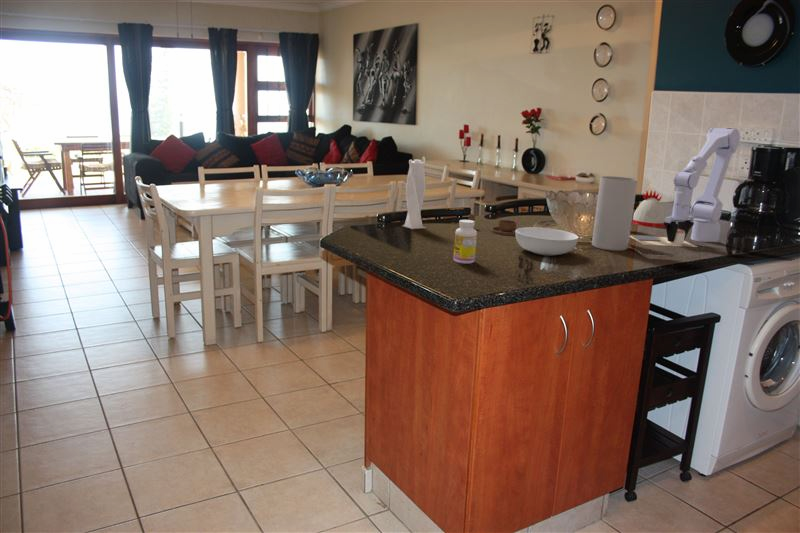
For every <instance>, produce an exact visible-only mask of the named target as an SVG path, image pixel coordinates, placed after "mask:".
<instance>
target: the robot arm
mask: <svg viewBox="0 0 800 533" xmlns="http://www.w3.org/2000/svg"><path fill="white" fill-rule="evenodd" d="M705 140H706V142H705V144H704V145H703V146H702V148H701V149H700V151H699V153H698V155H696V156H695V155H694V156H693V157H692V158H691V159H690V161H689V162H688V163H687V165H686V166H685V167H684V169H683V170H682V171H679V172H677V173H676V174H675V176H674V178H673V184H674V192H675V195H674V200H673V205H672V212H671V215H669V216H665V221H664V225H665V226H664V227H665V230H666V237H667V239H668V241H670V242H674V240H675V236H676V232H677V230H678V229H681V230H685V238H684V241H686V238H687V235H688V234H689V232H690V230H691V235H690V240H692V241H697V242H701V243H719V240H720V236H721V228H722V227H721V224H720V223H719V220H720V218H721V216H722V212H723V211H722V209H723V202H722V201H721V199H719V195H720V194H719V193H720V192H721V188H722V186H723V183H724V180H725V176H726V173H727V170H728V168H729V164H730V162H731V159H732V156H733V154H735V153H736V152H737V149H738V146H739V143H740V141H741V134H740V131H739V129H737V128H724V127H723V128H722V127H711V128H710V129H708V131H707V134H706V139H705ZM714 153H715V154H716V155H715V158H714V162H713V164H712V167H711V170H710V173H709V176H708V179H707V182H706V185H705V187H704V191H703V194H700V196H697V197H696V198H695V200H694V201H693V203H692V198H693V192H694V189H695V188H696V187H697V185H698V184H699V180H700V178H701V174H702V173H703V171H704V170H705V169H706V168H707V166H708V162H707V161H708V160H709V159H710V157H711V156H712V155H713V154H714ZM691 204H692V205H691Z"/></svg>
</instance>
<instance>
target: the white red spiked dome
mask: <svg viewBox="0 0 800 533" xmlns="http://www.w3.org/2000/svg"><path fill="white" fill-rule="evenodd" d="M659 195H660V193H657V192H656V190H654V191H653V190H650V193H649V192H648V190H646V192H645V193H643V192H642V196H643V198H644V200H642V201H641V202H640V203H639V204H638V206H636V210H635V211H634V212H633V214H634V216H633V223H632V224H634V225H636V226H637V225H638V226H644V227H653V228H662V227H665V225H664V221H665V217H666V214H665V209H664V207H663V205H662V203H661V202H660V201H661V199H662V198H663V197H662V196H660V197H659Z"/></svg>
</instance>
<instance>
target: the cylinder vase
mask: <svg viewBox="0 0 800 533" xmlns="http://www.w3.org/2000/svg"><path fill="white" fill-rule="evenodd" d="M637 188H638V179H637V178H631V177H626V176H625V177H623V176H610V175H608V176H606V175H605V176H600V179H599V187H598V194H597V200H596V201H597V202H596V210H595V216H594V225H593V231H592V232H593V233H592V240H591V245H592V246H593V247H595V248H596V249H599V250H604V251H610V252H611V251H612V252H623V251H626V250H628V248H629V242H630V237H629V236H631V232H630V229H631V222H632V215H633V214H634V208H635V201H636V193H637ZM631 230H632V229H631Z"/></svg>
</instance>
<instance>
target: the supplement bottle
mask: <svg viewBox="0 0 800 533" xmlns="http://www.w3.org/2000/svg"><path fill="white" fill-rule="evenodd" d="M458 224H459V228H456V229H455V233H454V234H455V235H454V247H453V257H452V258H453V259H452V260H453V261H454V262H455V263H458V264H473V263H474V262H476V261H475V259H476V249H477V237H478V231H477V230H476V229H474V227H475V225H476V224H475V220H474V221H472V220H469V219H460V220H459V222H458Z"/></svg>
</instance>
